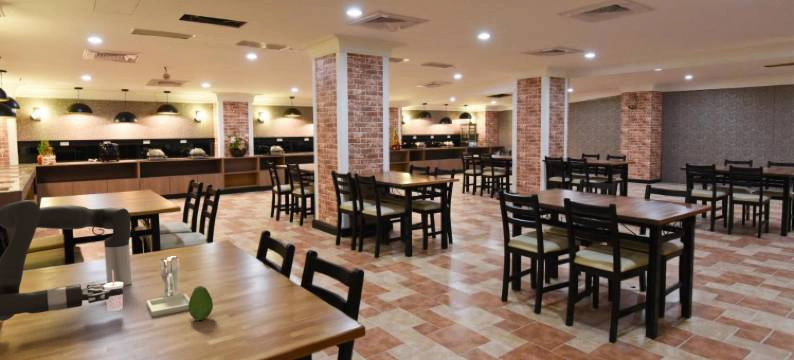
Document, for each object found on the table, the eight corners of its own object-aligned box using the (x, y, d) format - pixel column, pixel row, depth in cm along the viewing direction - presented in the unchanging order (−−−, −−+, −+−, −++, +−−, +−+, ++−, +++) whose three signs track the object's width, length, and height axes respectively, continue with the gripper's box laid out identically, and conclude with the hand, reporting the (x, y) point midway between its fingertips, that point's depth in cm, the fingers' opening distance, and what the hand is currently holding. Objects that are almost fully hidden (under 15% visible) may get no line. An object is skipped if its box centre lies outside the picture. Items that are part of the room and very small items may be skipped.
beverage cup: (104, 313, 170) (101, 274, 169) (105, 307, 176) (103, 269, 174) (124, 310, 173) (122, 271, 172) (125, 304, 179) (122, 267, 177)
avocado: (198, 325, 167) (197, 290, 166) (184, 320, 171) (182, 287, 170) (218, 317, 174) (216, 284, 173) (204, 313, 178) (202, 281, 177)
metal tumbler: (173, 298, 194) (171, 261, 193) (158, 297, 196) (155, 260, 194) (184, 292, 201) (182, 256, 200) (169, 291, 203) (167, 255, 201)
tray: (146, 305, 186) (146, 300, 186) (186, 298, 194) (185, 293, 194) (152, 317, 175) (151, 311, 175) (193, 309, 183) (193, 303, 182)
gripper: (64, 292, 159) (123, 283, 169) (64, 281, 171) (119, 273, 181) (65, 315, 160) (124, 304, 170) (65, 302, 172) (120, 292, 181)
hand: (121, 288), depth 175 cm, fingers closed on beverage cup, 6 cm apart
